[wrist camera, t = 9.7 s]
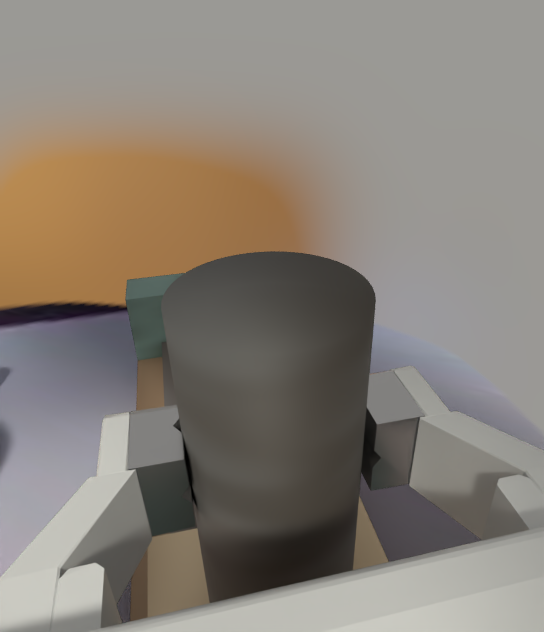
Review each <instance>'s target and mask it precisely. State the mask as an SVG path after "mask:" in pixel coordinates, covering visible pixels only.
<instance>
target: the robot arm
mask: <svg viewBox="0 0 544 632" xmlns="http://www.w3.org/2000/svg"><path fill="white" fill-rule="evenodd" d="M361 472H362V474H363V476H364V478H365V480H366V482H367V484H368V486H369V488H370V490H371V491H372V490H377V489H383V488H389V487H395V486H400V485H406V484H409V486H410V487H411V488H413V489H414V490H415V491H417V492H418V493H419V494H421V495H422V496H423V497H425V498H426V499H428V500H429V501H430V502H432V503H433V504H434V505H436V506H437V507H438V508H440V509H441V510H442V511H444V512H445V513H446V514H448V515H449V516H450V517H452V518H453V519H454V520H456V521H457V522H458V523H460V524H461V525H462V526H464V527H465V528H466V529H468V530H469V531H471V532H472V533H473V534H475V535H476V536H477V537H479V538H480V539H481V541H477V542H473V543H469V544H464V545H460V546H456V547H451V548H447V549H443V550H438V551H434V552H430V553H426V554H421V555H417V556H413V557H408V558H404V559H400V560H395V561H391V562H386V563H382V564H378V565H373V566H369V567H365V568H360V569H356V570H352V571H347V572H343V573H339V574H334V575H330V576H326V577H321V578H317V579H313V580H308V581H304V582H300V583H295V584H291V585H286V586H282V587H278V588H273V589H269V590H265V591H260V592H256V593H252V594H247V595H243V596H239V597H234V598H230V599H226V600H221V601H217V602H213V603H208V604H204V605H200V606H195V607H191V608H187V609H182V610H178V611H174V612H169V613H165V614H161V615H156V616H152V617H147V618H143V619H139V620H134V621H130V622H126V623H122V621H121V618H120V615H119V612H118V608H117V603H118V601H119V599H120V598H121V596H122V594H123V592H124V590H125V588H126V587H127V585H128V583H129V581H130V579H131V577H132V576H133V574H134V572H135V570H136V568H137V566H138V565H139V563H140V561H141V559H142V557H143V555H144V554H145V552H146V550H147V548H148V546H149V544H150V542H151V541H152V536H156V535H160V534H165V533H169V532H173V531H178V530H182V529H186V528H191V527H195V526H196V525H195V514H194V503H193V495H192V489H191V483H190V477H189V474H188V467H187V458H186V452H185V446H184V441H183V435H182V432H181V426H180V420H179V414H178V408H177V405H173V406H166V407H159V408H152V409H144V410H137V411H131V412H125V413H119V414H112V415H105V417H104V419H103V421H102V430H101V439H100V448H99V457H98V466H97V475H96V476H95V477H90V478H88V479H87V480H86V481H85V482H84V483H83V485H82V486H81V487H80V488H79V489H78V490H77V491H76V493H75V494H74V495H73V496H72V497H71V498H70V499H69V500H68V502H67V503H66V504H65V505H64V506H63V507H62V508H61V509H60V511H59V512H58V513H57V514H56V515H55V516H54V517H53V519H52V520H51V521H50V522H49V523H48V524H47V525H46V526H45V528H44V529H43V530H42V531H41V532H40V533H39V534H38V535H37V537H36V538H35V539H34V540H33V541H32V542H31V543H30V545H29V546H28V547H27V548H26V549H25V550H24V551H23V552H22V554H21V555H20V556H19V557H18V558H17V559H16V560H15V561H14V563H13V564H12V565H11V566H10V567H9V568H8V569H7V571H6V572H5V573H4V574H3V575H2V576H1V577H0V632H544V450H541V449H539V448H537V447H535V446H533V445H530V444H528V443H526V442H524V441H522V440H519V439H517V438H515V437H513V436H511V435H509V434H506V433H504V432H502V431H500V430H498V429H495V428H493V427H491V426H489V425H487V424H485V423H482V422H480V421H478V420H476V419H474V418H471V417H469V416H467V415H465V414H463V413H460V412H458V411H454V412H450V411H449V409H448V408H447V407H446V406H445V404H444V403H443V402H442V401H441V399H440V398H439V397H438V396H437V394H436V393H435V392H434V391H433V389H432V388H431V387H430V386H429V384H428V383H427V382H426V381H425V379H424V378H423V377H422V376H421V374H420V373H419V372H418V371H417V369H416V368H415V367H412V366H407V367H401V368H396V369H391V370H389V371H383V372H377V373H371V374H369V385H368V397H367V409H366V421H365V433H364V444H363V456H362V468H361Z"/></svg>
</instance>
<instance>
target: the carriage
mask: <svg viewBox="0 0 544 632" xmlns="http://www.w3.org/2000/svg"><path fill="white" fill-rule="evenodd" d="M375 302H376V300H375V293H374V290H373V288H372V286H371V285H370V283H369V282H368V280H366V278H365V277H363V276H362V275H361V274H360V273H358V272H357V271H356V270H354V269H352V268H350V267H349V266H347V265H344V264H342V263H340V262H337V261H334V260H331V259H328V258H324V257H320V256H315V255H310V254H303V253H295V252H255V253H246V254H239V255H234V256H229V257H225V258H221V259H217V260H214V261H211V262H208V263H205V264H203V265H200V266H198V267H196V268H194V269H192V270H190V271H188V272H186V273H185V274H183V275H181V276H180V277H179V278H177V279H176V280H175V281H174V282H173V283H172V284H171V285H170V286H169V287H168V288H167V290H166V292H165V293H164V295H163V298H162V301H161V311H162V317H163V323H164V329H165V335H166V341H167V348H168V354H169V360H170V366H171V372H172V378H173V384H174V390H175V396H176V402H177V408H178V414H179V420H180V426H181V432H182V435H183V441H184V446H185V452H186V458H187V467H188V474H189V477H190V483H191V489H192V495H193V503H194V511H195V517H196V523H197V528H196V529H191V530H186V531H181V532H176V533H171V534H166V535H161V536H156V537H152V541H151V542H150V544H149V546H148V617H152V616H156V615H161V614H165V613H169V612H174V611H178V610H182V609H187V608H191V607H195V606H200V605H204V604H208V603H213V602H217V601H221V600H226V599H230V598H234V597H239V596H243V595H247V594H252V593H256V592H260V591H265V590H269V589H273V588H278V587H282V586H286V585H291V584H295V583H300V582H304V581H308V580H313V579H317V578H321V577H326V576H330V575H334V574H339V573H343V572H347V571H352V570H356V569H360V568H365V567H369V566H373V565H378V564H382V563H386V562H389V561H388V559H387V557H386V555H385V553H384V550H383V548H382V546H381V544H380V541H379V539H378V537H377V535H376V532H375V530H374V528H373V526H372V523H371V521H370V519H369V517H368V515H367V512H366V510H365V508H364V506H363V503H362V501H361V499H360V497H359V492H360V480H361V468H362V456H363V444H364V433H365V421H366V409H367V397H368V385H369V373H370V361H371V349H372V337H373V326H374V313H375Z"/></svg>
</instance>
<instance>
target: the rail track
mask: <svg viewBox="0 0 544 632" xmlns="http://www.w3.org/2000/svg"><path fill="white" fill-rule="evenodd" d="M183 274H185V273H181V274H173V275H164V276H156V277H148V278H139V279H130V280H127V288H126V305H127V310H128V315H129V320H130V324H131V329H132V334H133V339H134V344H135V349H136V354H137V359H138V372H137V405H136V411H137V410H144V409H152V408H159V407H166V406H173V405H177V402H176V396H175V390H174V384H173V378H172V372H171V366H170V360H169V354H168V348H167V341H166V335H165V329H164V323H163V317H162V311H161V301H162V298H163V295H164V293H165V292H166V290H167V288H168V287H169V286H170V285H171V284H172V283H173V282H174V281H175V280H176V279H177V278H179V277H180V276H181V275H183ZM359 497H360V496H359ZM363 506H364V505H363ZM194 514H195V511H194ZM367 515H368V514H367ZM368 517H369V516H368ZM195 525H196V526H195V527H191V528H186V529H182V530H178V531H173V532H169V533H165V534H160V535H156V536H161V535H166V534H171V533H176V532H181V531H186V530H191V529H196V528H197V523H196V517H195ZM372 526H373V525H372ZM376 535H377V534H376ZM156 536H152V537H156ZM380 544H381V543H380ZM381 546H382V545H381ZM384 553H385V552H384ZM385 555H386V554H385ZM147 617H148V548H147V550H146V552H145V554H144V555H143V557H142V559H141V561H140V563H139V565H138V566H137V568H136V570H135V572H134V574H133V576H132V577H131V607H130V621H134V620H139V619H143V618H147Z"/></svg>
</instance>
